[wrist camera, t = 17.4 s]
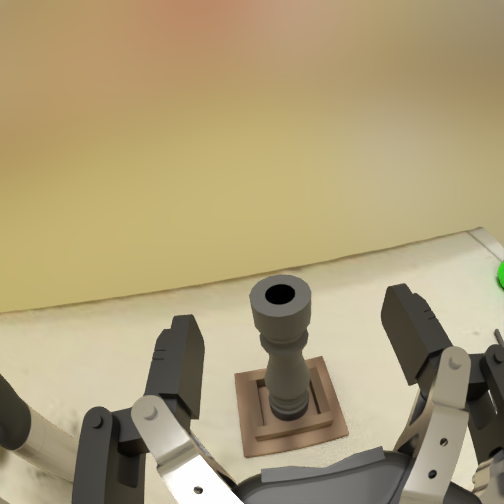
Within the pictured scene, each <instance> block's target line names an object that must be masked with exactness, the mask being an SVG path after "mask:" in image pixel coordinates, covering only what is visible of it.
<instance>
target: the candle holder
mask: <svg viewBox="0 0 504 504" xmlns="http://www.w3.org/2000/svg"><path fill="white" fill-rule="evenodd" d="M249 297H250V303H251V308H252V313H253V318H254V323H255V327H256V328H257V329H258V330H259V332H260V333H261V334H260V341H261V346H262V347H263V348H264V349H265V351H266V352H267V353H269V362H268V366H267V370H266V373H265V377H264V379H265V385H266V388H267V389H268V391H269V397H268V398H269V404H270V408H271V412H272V413H273V415H274V416H275V417H276V418H278V419H280V420H282V421H293V420H298V419H299V418H301V417H302V416H304V414H305V413H306V411H307V409H308V404H309V393H308V390H307V387H308V386H309V383H310V373H309V369H308V367H307V365H306V363H305V360H304V358H303V356H302V350H303V348H304V347H305V345H306V344H307V340H308V331H307V329H306V328H307V326H308V325H309V324H310V318H311V290H310V288H309V286H308V284H307V283H306V282H304V281H303V280H302V279H301V278H298V277H295V276H292V275H275V276H270V277H267V278H265V279H263V280H261V281H259V282H258V283H257V284H256V285H255V286H254V287H253V288H252V290H251V293H250V295H249Z"/></svg>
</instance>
